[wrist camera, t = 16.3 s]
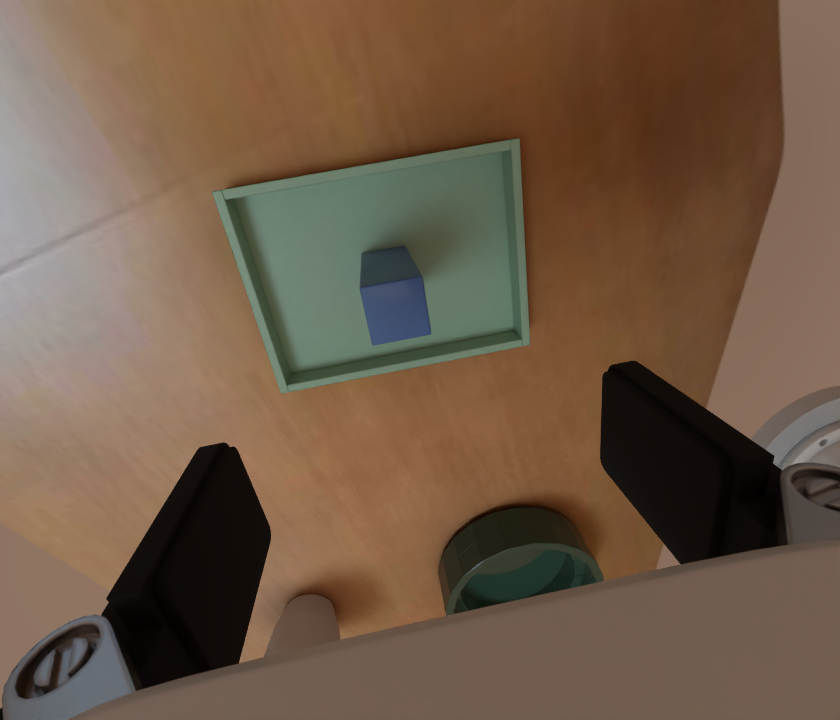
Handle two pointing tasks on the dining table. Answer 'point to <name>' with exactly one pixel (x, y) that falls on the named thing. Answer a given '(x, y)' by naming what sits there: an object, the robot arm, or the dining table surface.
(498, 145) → the tray
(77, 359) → the dining table surface
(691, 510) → the robot arm
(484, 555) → the green bowl
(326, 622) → the cup
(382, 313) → the block
